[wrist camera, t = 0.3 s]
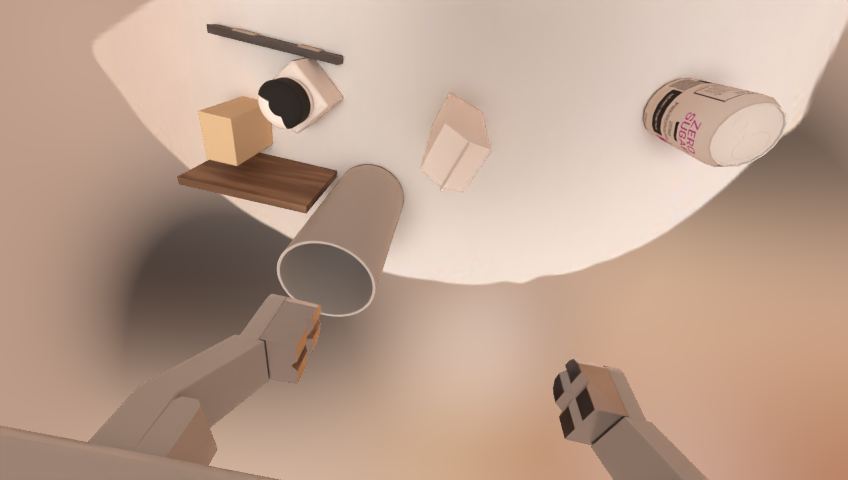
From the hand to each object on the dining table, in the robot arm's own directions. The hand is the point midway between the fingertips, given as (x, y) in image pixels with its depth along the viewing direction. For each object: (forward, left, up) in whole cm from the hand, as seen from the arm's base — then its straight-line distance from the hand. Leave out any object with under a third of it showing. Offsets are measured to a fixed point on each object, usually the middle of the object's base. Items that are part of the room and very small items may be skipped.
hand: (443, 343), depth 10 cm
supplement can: (-5, +32, -47) cm, 57 cm away
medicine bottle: (+5, -23, -47) cm, 53 cm away
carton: (+12, -32, -47) cm, 58 cm away
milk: (+4, +1, -47) cm, 47 cm away
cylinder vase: (+21, -11, -47) cm, 53 cm away
